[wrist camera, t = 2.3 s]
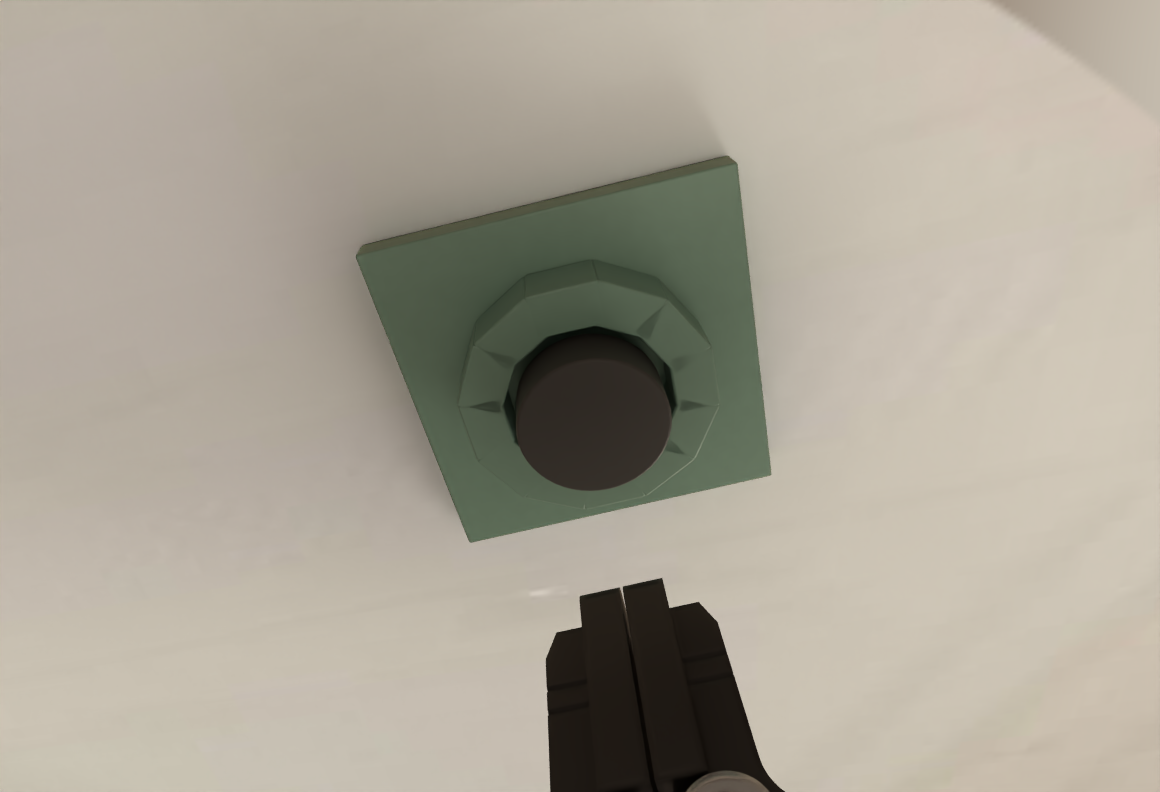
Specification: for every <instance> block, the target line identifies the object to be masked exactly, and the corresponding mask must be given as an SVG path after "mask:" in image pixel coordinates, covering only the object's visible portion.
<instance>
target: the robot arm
mask: <svg viewBox="0 0 1160 792" xmlns="http://www.w3.org/2000/svg"><path fill="white" fill-rule="evenodd" d="M623 593H624V599H625V604H624V601H623V597H622V593H621V590H620V588H615V589H610V590H606V591H601V592H597V593H592V594H587V595H583V596H580V610H581V621H582V627H581V628H576V629H571V630H567V631H562V632H557V633H556V635H555V638H554V640H553V643H552V645H551V648H550V650H549V653H548V655H547V658H546V677H547V690H548V692H547V705H548V714H549V716H548V734H549V762H550V790H551V792H785V791H783V790H782V789H781V788H780V787H778V786H777V785H776V784H775V783H774V782H773V781H772V779H771V778H770V777H769V776H768V774H767V773H766V771H765V769H764V768H763V766H762V763H761V761H760V758H759V755H758V752H757V749H756V745H755V742H754V739H753V736H752V733H751V729H750V726H749V723H748V720H747V716H746V713H745V710H744V707H743V703H742V700H741V697H740V694H739V690H738V687H737V684H736V681H735V677H734V675H733V671H732V668H731V664H730V661H729V658H728V655H727V652H726V648H725V645H724V642H723V639H722V635H721V632H720V629H719V626H718V622H717V621H716V620H715V619H714V618H713V617H712V616H711V615H710V614H709V613H708V612H707V611H706V609H705V608H704V607H703V606H702V605H701V604H700V603H699V602H696V603H692V604H687V605H682V606H678V607H673V608H669V605H668V601H667V597H666V592H665V588H664V584H663V580H662V578H660V579H656V580H651V581H646V582H642V583H637V584H633V585H628V586H623ZM625 605H626V608H625ZM626 611H627V612H626Z"/></svg>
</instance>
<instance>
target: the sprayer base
mask: <svg viewBox="0 0 1160 792" xmlns="http://www.w3.org/2000/svg"><path fill="white" fill-rule="evenodd" d="M356 259H357V261H358V264H359V266H360V269H361V271H362V274H363V276H364V279H365V281H366V284H367V286H368V289H369V291H370V294H371V297H372V299H373V302H374V304H375V307H376V309H377V312H378V314H379V317H380V319H381V322H382V324H383V327H384V329H385V332H386V334H387V337H388V339H389V342H390V344H391V347H392V349H393V352H394V354H395V357H396V359H397V362H398V364H399V367H400V369H401V372H402V374H403V377H404V379H405V382H406V384H407V387H408V389H409V392H410V394H411V397H412V399H413V402H414V404H415V407H416V409H417V412H418V414H419V417H420V419H421V422H422V424H423V427H424V430H425V432H426V435H427V437H428V440H429V442H430V445H431V447H432V450H433V452H434V455H435V457H436V460H437V462H438V465H439V467H440V470H441V472H442V475H443V477H444V480H445V482H446V485H447V487H448V490H449V492H450V495H451V497H452V500H453V502H454V505H455V507H456V510H457V512H458V515H459V517H460V520H461V522H462V525H463V527H464V530H465V532H466V535H467V537H468V540H469V542H476V541H480V540H485V539H489V538H494V537H498V536H503V535H507V534H512V533H516V532H521V531H525V530H529V529H534V528H538V527H543V526H547V525H552V524H556V523H561V522H565V521H570V520H574V519H579V518H583V517H588V516H592V515H596V514H601V513H605V512H610V511H614V510H619V509H623V508H628V507H632V506H637V505H641V504H646V503H650V502H655V501H659V500H663V499H668V498H672V497H677V496H681V495H686V494H690V493H695V492H699V491H704V490H708V489H713V488H717V487H722V486H726V485H730V484H735V483H739V482H744V481H748V480H753V479H757V478H762V477H766V476H770V475H771V466H770V457H769V448H768V439H767V430H766V420H765V411H764V402H763V393H762V384H761V375H760V366H759V357H758V348H757V339H756V329H755V320H754V311H753V302H752V293H751V284H750V275H749V266H748V257H747V248H746V238H745V229H744V220H743V211H742V202H741V193H740V184H739V175H738V166H737V163H736V162H735V161H734V160H733V159H731V158H730V157H729V156H725V157H721V158H717V159H713V160H709V161H705V162H701V163H696V164H692V165H688V166H684V167H680V168H676V169H672V170H668V171H664V172H660V173H656V174H652V175H648V176H643V177H639V178H635V179H631V180H627V181H623V182H619V183H615V184H611V185H607V186H603V187H599V188H595V189H590V190H586V191H582V192H578V193H574V194H570V195H566V196H562V197H558V198H554V199H550V200H546V201H542V202H537V203H533V204H529V205H525V206H521V207H517V208H513V209H509V210H505V211H501V212H497V213H493V214H489V215H485V216H480V217H476V218H472V219H468V220H464V221H460V222H456V223H452V224H448V225H444V226H440V227H436V228H432V229H427V230H423V231H419V232H415V233H411V234H407V235H403V236H399V237H395V238H391V239H387V240H383V241H379V242H374V243H370V244H366V245H363V246H362V247H361V248H360V250H359V252H358V253H357V255H356ZM592 333H594V334H605V335H610V336H615V337H618V338H621V339H623V340H626V341H628V342H630V343H632V344H633V345H635V346H636V347H638V348H639V349H640V350H642V351H643V352H644V353H645V354H646V355H647V356H648V357H649V359H650V360H651V361H652V362H653V364H654V366H655V367H656V369H657V371H658V373H659V376H660V378H661V381H662V384H663V387H664V390H665V392H666V395H667V398H668V401H669V404H670V408H671V414H672V427H671V433H670V437H669V440H668V442H667V445H666V447H665V449H664V451H663V453H662V454H661V456H660V457H659V458H658V460H657V461H656V462H655V463H654V464H653V465H652V467H650V468H649V469H648V470H647V471H646V472H645V473H643V474H642V475H640V476H639V477H638V478H636V479H634V480H632V481H630V482H628V483H626V484H624V485H621V486H618V487H615V488H611V489H606V490H600V491H580V490H574V489H569V488H565V487H562V486H560V485H557V484H554V483H553V482H551V481H549V480H547V479H545V478H544V477H543V476H541V475H540V474H539V473H538V472H536V471H535V470H534V469H533V468H532V467H531V465H530V464H529V463H528V462H527V460H526V459H525V457H524V456H523V454H522V452H521V449H520V447H519V444H518V440H517V435H516V395H517V389H518V384H519V382H520V379H521V376H522V374H523V373H524V371H525V369H526V367H527V366H528V365H529V363H530V362H531V361H532V360H533V359H534V358H535V357H536V356H537V355H538V354H539V353H540V352H541V351H543V350H544V349H545V348H547V347H548V346H550V345H552V344H553V343H555V342H557V341H560V340H562V339H564V338H568V337H571V336H575V335H580V334H592Z"/></svg>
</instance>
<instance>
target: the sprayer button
mask: <svg viewBox="0 0 1160 792" xmlns="http://www.w3.org/2000/svg"><path fill="white" fill-rule="evenodd" d="M671 427H672V414H671V408H670V404H669V401H668V398H667V395H666V392H665V390H664V387H663V384H662V381H661V378H660V376H659V373H658V371H657V369H656V367H655V366H654V364H653V362H652V361H651V360H650V359H649V357H648V356H647V355H646V354H645V353H644V352H643V351H642V350H640V349H639V348H638V347H636V346H635V345H633V344H632V343H630V342H628V341H626V340H623V339H621V338H618V337H615V336H610V335H605V334H594V333H592V334H580V335H575V336H571V337H568V338H564V339H562V340H560V341H557V342H555V343H553V344H552V345H550V346H548V347H547V348H545V349H544V350H543V351H541V352H540V353H539V354H538V355H537V356H536V357H535V358H534V359H533V360H532V361H531V362H530V363H529V365H528V366H527V367H526V369H525V371H524V373H523V374H522V376H521V379H520V382H519V384H518V389H517V395H516V435H517V440H518V444H519V447H520V449H521V452H522V454H523V456H524V457H525V459H526V460H527V462H528V463H529V464H530V465H531V467H532V468H533V469H534V470H535V471H536V472H538V473H539V474H540V475H541V476H543V477H544V478H545V479H547V480H549V481H551V482H553V483H554V484H557V485H560V486H562V487H565V488H569V489H574V490H580V491H600V490H606V489H611V488H615V487H618V486H621V485H624V484H626V483H628V482H630V481H632V480H634V479H636V478H638V477H639V476H640V475H642V474H643V473H645V472H646V471H647V470H648V469H649V468H650V467H652V465H653V464H654V463H655V462H656V461H657V460H658V458H659V457H660V456H661V454H662V453H663V451H664V449H665V447H666V445H667V442H668V440H669V437H670V433H671Z"/></svg>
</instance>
